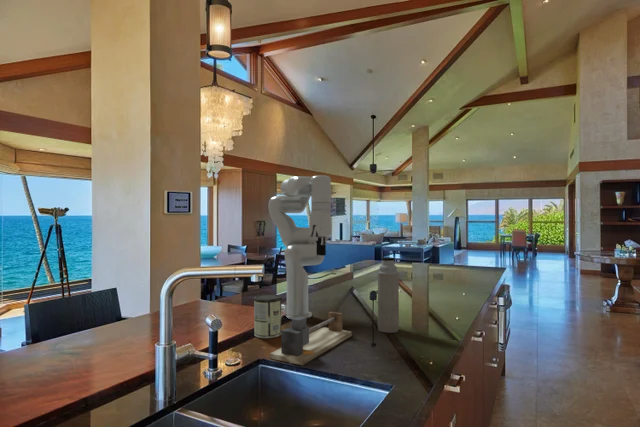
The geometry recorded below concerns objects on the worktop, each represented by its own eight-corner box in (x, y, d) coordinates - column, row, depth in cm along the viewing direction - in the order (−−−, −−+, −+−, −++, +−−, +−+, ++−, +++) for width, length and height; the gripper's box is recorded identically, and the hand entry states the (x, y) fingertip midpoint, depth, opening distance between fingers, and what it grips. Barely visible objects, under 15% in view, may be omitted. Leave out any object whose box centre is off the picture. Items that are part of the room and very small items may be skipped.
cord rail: (269, 358, 124) (269, 330, 124) (323, 331, 154) (323, 308, 154) (302, 365, 118) (302, 336, 118) (351, 335, 148) (351, 312, 148)
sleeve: (289, 343, 127) (289, 318, 127) (295, 340, 131) (295, 315, 131) (302, 346, 125) (302, 320, 125) (309, 342, 128) (309, 317, 128)
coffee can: (261, 329, 156) (261, 293, 156) (286, 331, 153) (286, 294, 153) (248, 336, 146) (248, 298, 147) (274, 339, 143) (274, 300, 143)
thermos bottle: (398, 327, 159) (398, 256, 159) (398, 333, 151) (398, 258, 151) (378, 326, 160) (378, 256, 160) (377, 332, 152) (377, 258, 153)
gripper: (322, 208, 163) (322, 253, 163) (302, 207, 150) (302, 256, 150) (338, 207, 159) (338, 254, 159) (319, 207, 146) (319, 257, 146)
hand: (321, 255), depth 154 cm, fingers closed
